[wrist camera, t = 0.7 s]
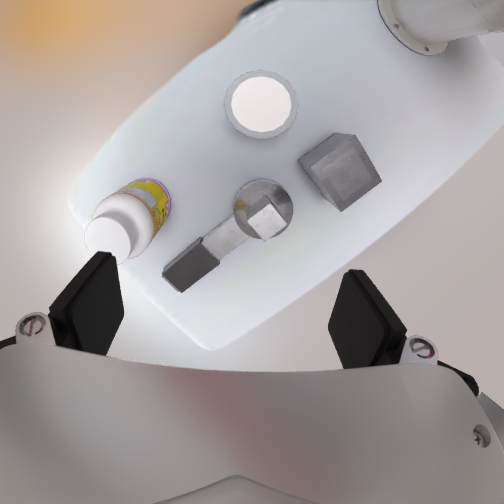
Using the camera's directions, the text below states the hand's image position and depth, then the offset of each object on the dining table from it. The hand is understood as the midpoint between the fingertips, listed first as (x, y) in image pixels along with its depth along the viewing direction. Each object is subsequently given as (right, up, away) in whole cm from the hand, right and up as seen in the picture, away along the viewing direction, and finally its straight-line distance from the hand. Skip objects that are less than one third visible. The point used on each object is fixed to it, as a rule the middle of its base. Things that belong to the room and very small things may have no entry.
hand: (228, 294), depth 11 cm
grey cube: (+11, +12, +21) cm, 27 cm away
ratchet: (-3, +4, +25) cm, 25 cm away
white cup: (+1, +18, +18) cm, 26 cm away
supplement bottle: (-12, +8, +22) cm, 27 cm away
